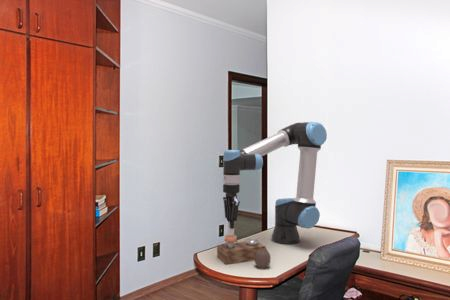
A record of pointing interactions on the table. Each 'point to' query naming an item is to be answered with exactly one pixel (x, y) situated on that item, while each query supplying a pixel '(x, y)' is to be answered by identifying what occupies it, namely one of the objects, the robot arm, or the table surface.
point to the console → (237, 253)
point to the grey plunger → (251, 242)
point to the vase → (262, 257)
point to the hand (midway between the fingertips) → (230, 234)
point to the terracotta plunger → (230, 240)
